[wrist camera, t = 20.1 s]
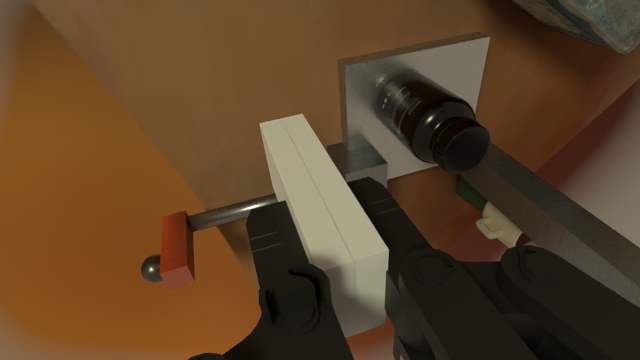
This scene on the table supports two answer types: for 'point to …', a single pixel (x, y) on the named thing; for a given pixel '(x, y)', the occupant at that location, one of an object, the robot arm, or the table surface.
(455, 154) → the supplement bottle
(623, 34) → the metal box
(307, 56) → the table surface
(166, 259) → the lever
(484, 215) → the character mug
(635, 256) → the press
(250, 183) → the table surface
